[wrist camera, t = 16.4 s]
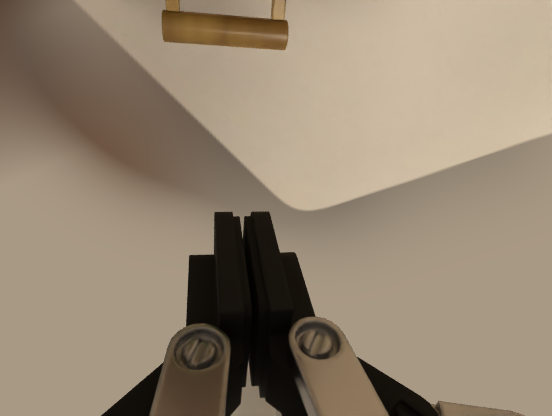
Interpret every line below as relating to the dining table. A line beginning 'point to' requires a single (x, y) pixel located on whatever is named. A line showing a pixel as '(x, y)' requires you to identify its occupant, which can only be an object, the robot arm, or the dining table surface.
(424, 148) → the dining table surface
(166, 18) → the drawer
